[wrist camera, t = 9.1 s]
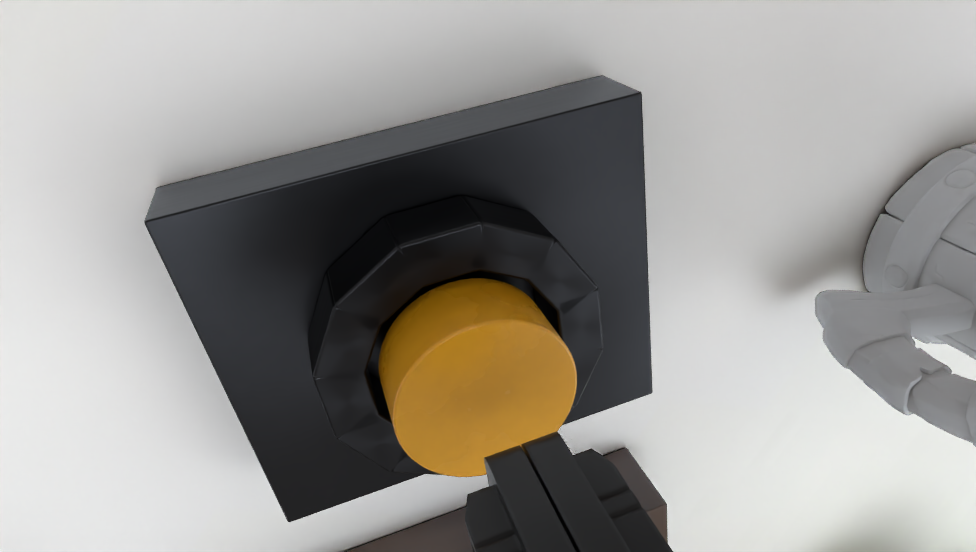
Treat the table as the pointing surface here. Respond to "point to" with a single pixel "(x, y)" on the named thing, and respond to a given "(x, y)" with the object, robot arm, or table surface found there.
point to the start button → (473, 375)
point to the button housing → (409, 268)
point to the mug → (915, 297)
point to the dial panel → (445, 540)
